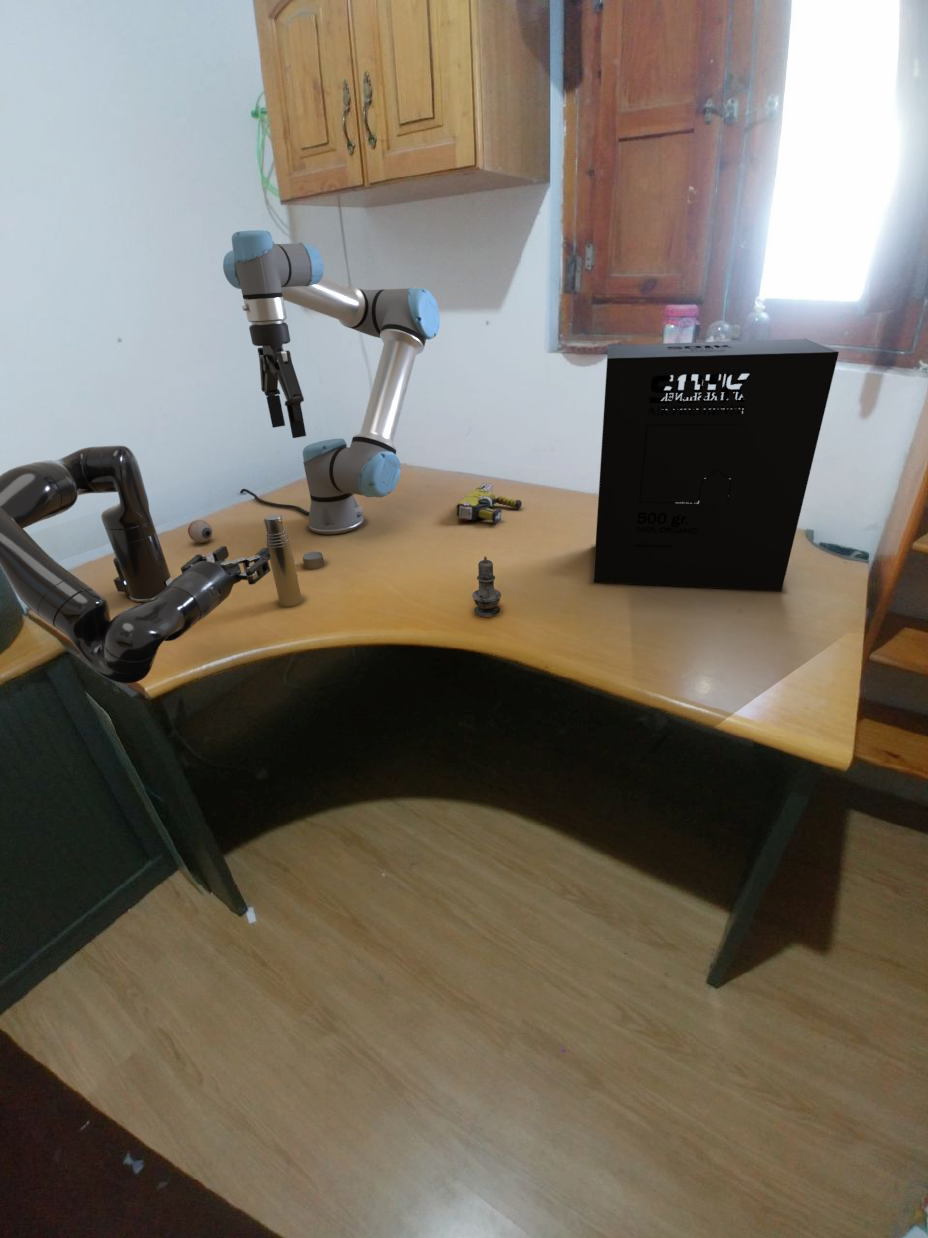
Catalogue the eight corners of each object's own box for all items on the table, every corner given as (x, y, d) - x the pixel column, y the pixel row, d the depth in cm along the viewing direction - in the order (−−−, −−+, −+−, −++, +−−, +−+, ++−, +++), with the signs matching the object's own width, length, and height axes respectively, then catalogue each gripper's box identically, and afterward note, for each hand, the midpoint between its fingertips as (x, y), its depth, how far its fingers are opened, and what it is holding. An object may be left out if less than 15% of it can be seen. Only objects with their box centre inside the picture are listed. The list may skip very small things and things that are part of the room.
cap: (309, 560, 149) (307, 551, 148) (327, 561, 148) (325, 551, 147) (301, 569, 145) (299, 559, 144) (319, 569, 144) (317, 559, 143)
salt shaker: (499, 618, 119) (498, 563, 113) (470, 616, 121) (467, 562, 115) (503, 604, 124) (502, 550, 118) (475, 602, 125) (473, 549, 119)
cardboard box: (760, 550, 140) (805, 338, 118) (781, 591, 123) (838, 351, 101) (595, 545, 148) (608, 345, 125) (593, 582, 131) (607, 358, 108)
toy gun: (529, 487, 179) (482, 480, 183) (508, 512, 159) (455, 503, 163) (528, 503, 181) (481, 495, 185) (506, 528, 161) (454, 519, 165)
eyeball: (201, 547, 160) (195, 526, 157) (186, 543, 163) (180, 522, 160) (220, 539, 164) (214, 518, 161) (205, 536, 167) (199, 515, 164)
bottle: (302, 605, 129) (283, 519, 119) (279, 608, 128) (259, 522, 118) (302, 595, 133) (284, 511, 123) (280, 598, 132) (260, 514, 123)
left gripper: (165, 610, 102) (218, 567, 116) (241, 615, 99) (285, 571, 113) (151, 570, 98) (207, 531, 112) (229, 574, 95) (277, 533, 109)
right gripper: (232, 322, 128) (255, 425, 138) (268, 326, 109) (291, 444, 120) (267, 319, 131) (286, 419, 142) (307, 322, 112) (326, 438, 123)
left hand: (246, 551), depth 112 cm, fingers open, 8 cm apart
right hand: (288, 431), depth 131 cm, fingers open, 13 cm apart
